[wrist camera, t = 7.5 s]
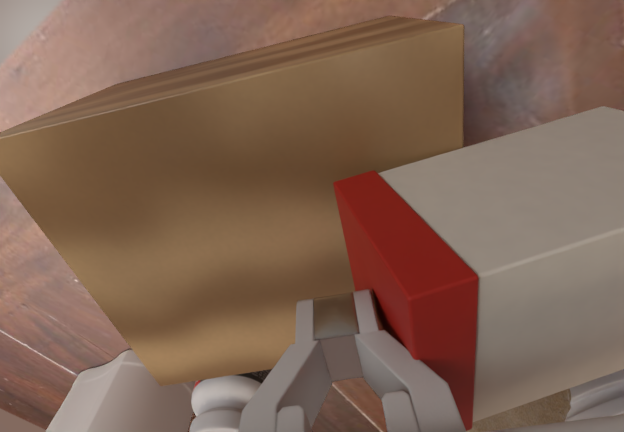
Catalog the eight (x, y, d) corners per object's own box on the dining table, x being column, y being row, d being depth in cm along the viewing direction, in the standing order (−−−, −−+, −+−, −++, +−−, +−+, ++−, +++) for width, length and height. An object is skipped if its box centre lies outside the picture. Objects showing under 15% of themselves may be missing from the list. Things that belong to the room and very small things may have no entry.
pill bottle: (203, 306, 29) (163, 428, 21) (269, 297, 29) (254, 417, 20) (224, 349, 32) (196, 472, 24) (283, 342, 32) (276, 463, 23)
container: (332, 181, 12) (408, 299, 7) (601, 101, 12) (854, 155, 7) (357, 302, 15) (423, 447, 10) (572, 233, 15) (739, 335, 10)
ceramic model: (564, 312, 31) (666, 431, 22) (499, 386, 36) (559, 504, 28) (417, 285, 29) (465, 404, 20) (372, 368, 34) (395, 489, 26)
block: (115, 84, 20) (-26, 142, 11) (391, 15, 18) (465, 23, 10) (205, 267, 27) (159, 387, 19) (409, 228, 26) (462, 340, 17)
